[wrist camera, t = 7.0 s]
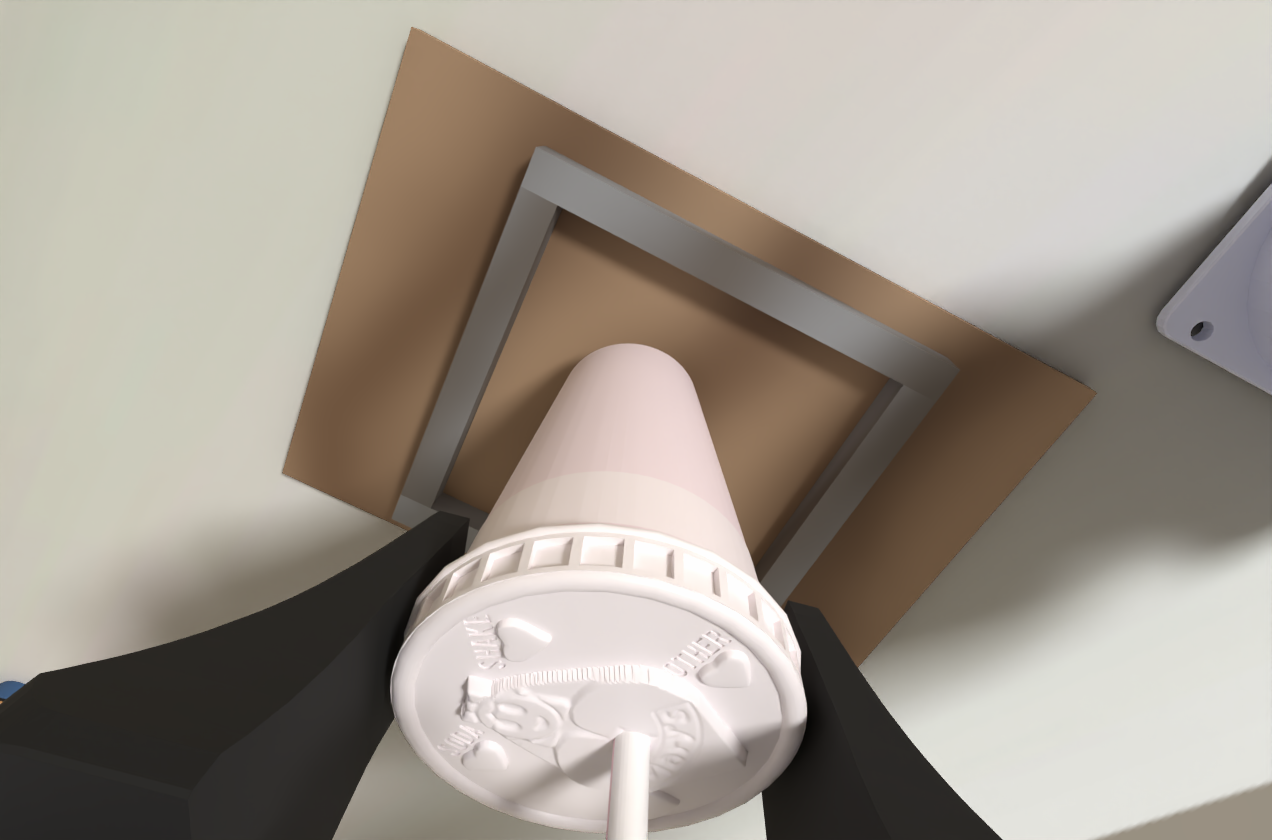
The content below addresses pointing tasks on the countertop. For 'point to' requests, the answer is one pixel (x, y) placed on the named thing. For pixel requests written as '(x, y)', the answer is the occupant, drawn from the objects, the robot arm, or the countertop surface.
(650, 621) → the smoothie
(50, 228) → the countertop surface
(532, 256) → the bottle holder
